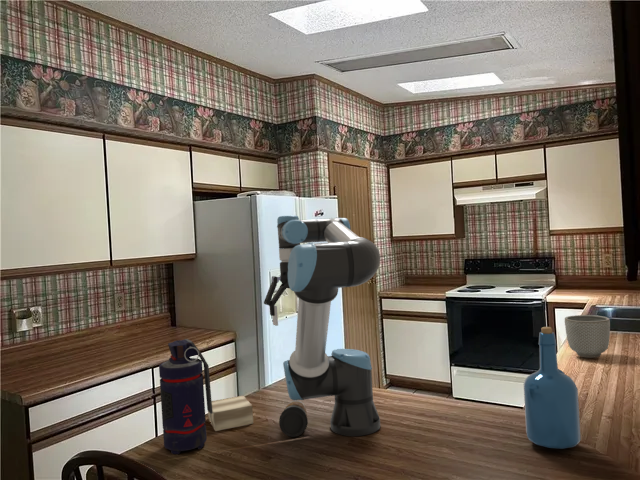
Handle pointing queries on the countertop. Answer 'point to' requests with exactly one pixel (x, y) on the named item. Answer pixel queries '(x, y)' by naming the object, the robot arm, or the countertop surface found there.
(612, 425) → the countertop surface
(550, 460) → the countertop surface
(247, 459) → the countertop surface
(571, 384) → the wine bottle
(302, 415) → the coffee cup
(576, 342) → the planter
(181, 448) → the grenade
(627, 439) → the countertop surface
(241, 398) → the maple block
